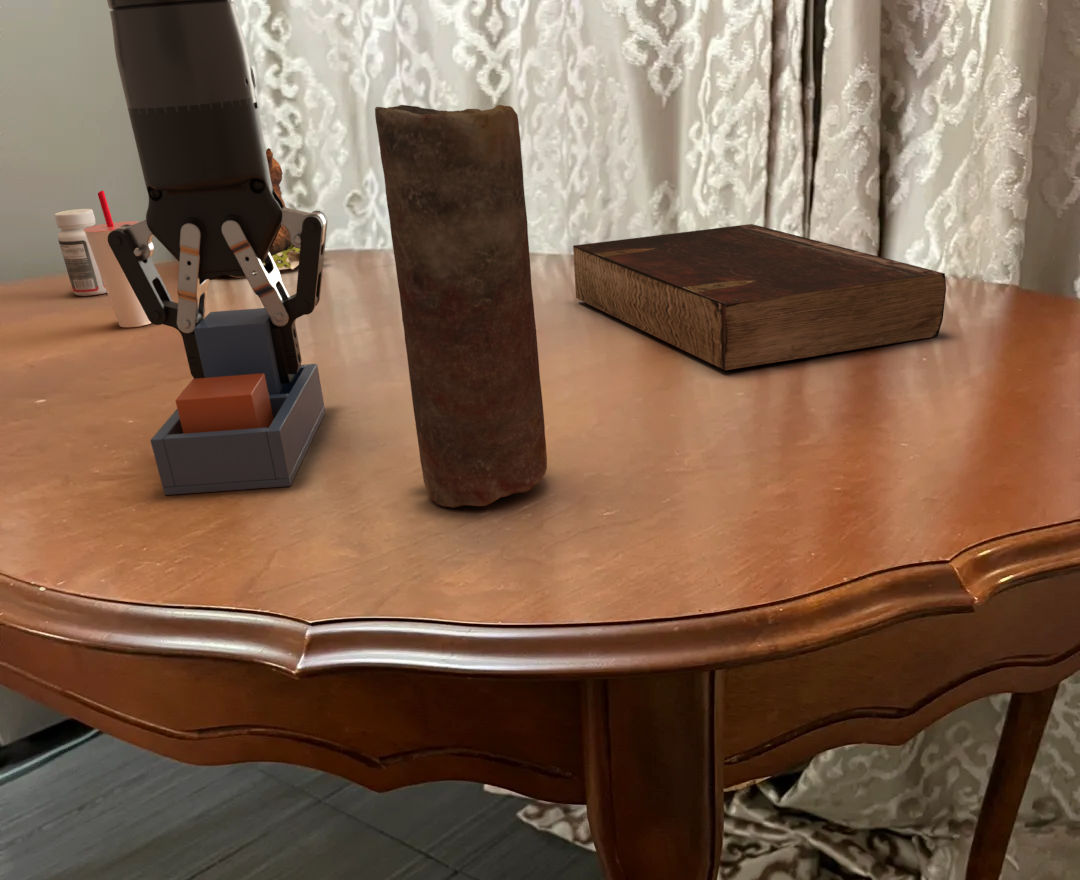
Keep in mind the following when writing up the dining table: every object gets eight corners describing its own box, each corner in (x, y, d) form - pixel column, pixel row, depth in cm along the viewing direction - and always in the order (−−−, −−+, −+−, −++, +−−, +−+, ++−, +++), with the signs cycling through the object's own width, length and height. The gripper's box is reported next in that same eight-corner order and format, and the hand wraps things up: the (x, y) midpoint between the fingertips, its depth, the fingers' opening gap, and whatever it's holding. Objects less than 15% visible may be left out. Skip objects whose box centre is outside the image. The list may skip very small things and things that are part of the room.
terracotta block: (192, 473, 69) (174, 399, 67) (209, 448, 73) (192, 378, 71) (266, 467, 69) (250, 393, 67) (278, 443, 73) (264, 372, 71)
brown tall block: (425, 470, 69) (377, 101, 58) (543, 460, 69) (517, 90, 58) (423, 517, 62) (369, 112, 52) (553, 505, 62) (526, 99, 52)
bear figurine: (198, 263, 137) (174, 152, 130) (321, 250, 139) (303, 140, 132) (189, 284, 125) (162, 164, 119) (323, 270, 127) (303, 151, 121)
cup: (100, 325, 111) (64, 193, 104) (151, 314, 113) (119, 184, 107) (121, 332, 107) (85, 196, 101) (173, 321, 110) (141, 187, 103)
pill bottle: (107, 285, 128) (86, 206, 124) (123, 290, 125) (103, 209, 121) (67, 293, 126) (44, 213, 122) (82, 298, 123) (60, 216, 118)
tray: (164, 495, 68) (149, 439, 66) (219, 420, 81) (207, 371, 79) (290, 486, 68) (279, 430, 66) (325, 412, 81) (317, 363, 79)
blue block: (209, 399, 74) (193, 328, 71) (224, 380, 78) (210, 311, 75) (278, 394, 74) (264, 323, 71) (290, 375, 78) (277, 306, 75)
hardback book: (940, 335, 86) (948, 267, 84) (724, 375, 81) (726, 304, 79) (752, 274, 109) (754, 219, 107) (575, 302, 105) (573, 245, 102)
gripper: (50, 110, 63) (129, 407, 73) (299, 90, 63) (347, 392, 72) (92, 100, 70) (161, 375, 79) (319, 82, 69) (361, 361, 79)
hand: (250, 382), depth 75 cm, fingers closed on blue block, 4 cm apart
